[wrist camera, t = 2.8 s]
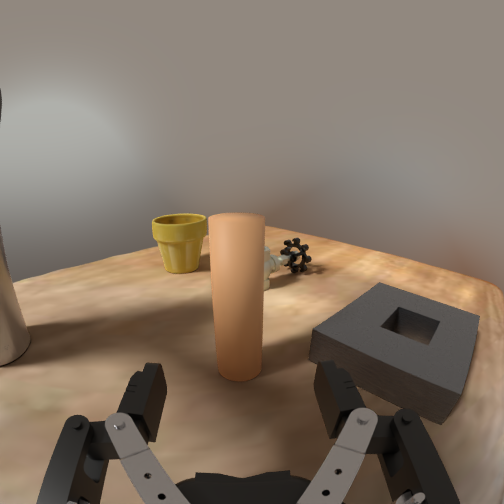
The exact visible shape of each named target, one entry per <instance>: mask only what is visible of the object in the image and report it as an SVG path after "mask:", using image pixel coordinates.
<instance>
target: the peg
mask: <svg viewBox="0 0 504 504" xmlns="http://www.w3.org/2000/svg"><path fill="white" fill-rule="evenodd" d="M208 219H209V246H210V267H211V285H212V301H213V315H214V328H215V341H216V352H217V363H218V371H219V373H220V374H221V375H222V376H223V377H224V378H226V379H228V380H231V381H239V382H241V381H248V380H251V379H253V378H255V377H256V376H257V375H258V374H259V373H260V372H261V368H262V335H263V295H264V244H265V217H264V216H262V215H259V214H254V213H222V214H216V215H213V216H210V217H209V218H208Z"/></svg>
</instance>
